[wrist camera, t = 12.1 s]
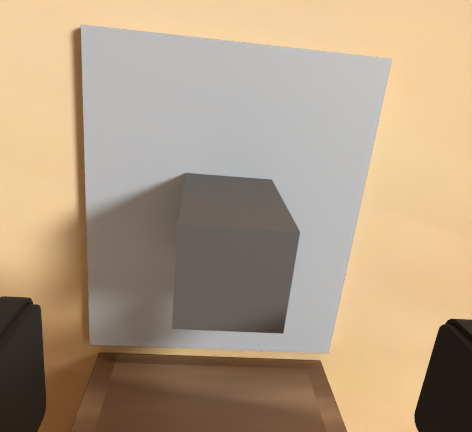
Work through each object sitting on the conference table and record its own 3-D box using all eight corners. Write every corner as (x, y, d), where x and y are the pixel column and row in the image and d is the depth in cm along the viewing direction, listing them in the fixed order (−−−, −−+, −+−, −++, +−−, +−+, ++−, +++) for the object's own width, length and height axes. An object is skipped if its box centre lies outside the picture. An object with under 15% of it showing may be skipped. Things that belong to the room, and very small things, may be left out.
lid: (322, 339, 20) (369, 451, 14) (95, 330, 19) (48, 448, 13) (380, 58, 15) (481, 60, 10) (88, 26, 14) (14, 7, 9)
